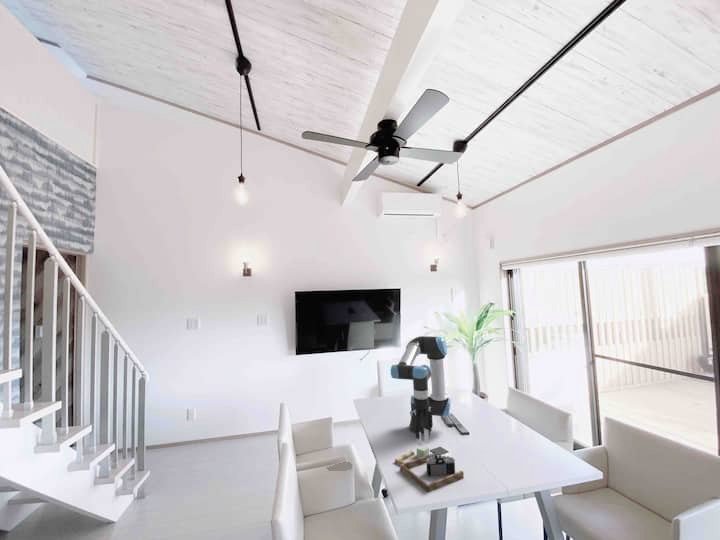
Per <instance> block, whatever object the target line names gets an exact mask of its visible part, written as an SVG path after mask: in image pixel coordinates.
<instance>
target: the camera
mask: <svg viewBox="0 0 720 540" xmlns="http://www.w3.org/2000/svg"><path fill="white" fill-rule="evenodd" d="M425 462H426V463H425V464H426V473H427V477H447V476H449V475H452V474H455V473H456V463H455V462H456V459H455V458H454V457H453V456H449V455H447V456H446V455H443V454H435V455H433V456H430V457H429V458H427V459H426V461H425Z"/></svg>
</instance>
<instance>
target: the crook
mask: <svg viewBox="0 0 720 540" xmlns="http://www.w3.org/2000/svg"><path fill="white" fill-rule="evenodd" d="M413 456H415V451H413V450H411V451H409V452H406V453H405V454H403V455H400V456H399V457H397V458H394V463H395V464H397V465H398V466H400V465H401V464H404V463H406V460H408V459H409V458H412V457H413Z"/></svg>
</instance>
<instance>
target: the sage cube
mask: <svg viewBox="0 0 720 540" xmlns="http://www.w3.org/2000/svg"><path fill="white" fill-rule="evenodd" d="M427 455H430V448H429V446H425V445H422V446H420V445H418V447H417V448H416V459H418V458H421V457H424V456H427Z"/></svg>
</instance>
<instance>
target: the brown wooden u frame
mask: <svg viewBox="0 0 720 540" xmlns="http://www.w3.org/2000/svg"><path fill="white" fill-rule="evenodd" d="M433 455H436V454H434V453H433V452H432V453H429V455H427V456H424V457H421V458H416V459H413V460H410V461H406V462H405V463H404V464H401V465H399V471H400V472H401V473H403V474H404V475H405V476H407V478H409V479H410V480H411V481H412V482H414V483H415V484H417V485H418V486H419V487H420V488H421V489H423V490H424V491H425V492H427V493H430V492H432V491H435V490H438V489H441V488H443V487H445V486H447V485H450V484H452V483H454V482H457V481H460V480H461V479H464V471H463V470H459V471H457V472H455V474H452V475H449V476H443V477H442V478H440V479H437V480H433V481H432V482H429V483H427V482H426V481H425V480H424V479H422V478H421V477H419V475H417V474H416V473H414V472H413V471H411V469H413V468H416V467H419V466H421V465H425V464H427V463H426V462H425V461H426V459H427V458H429V457H430V456H433Z"/></svg>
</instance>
